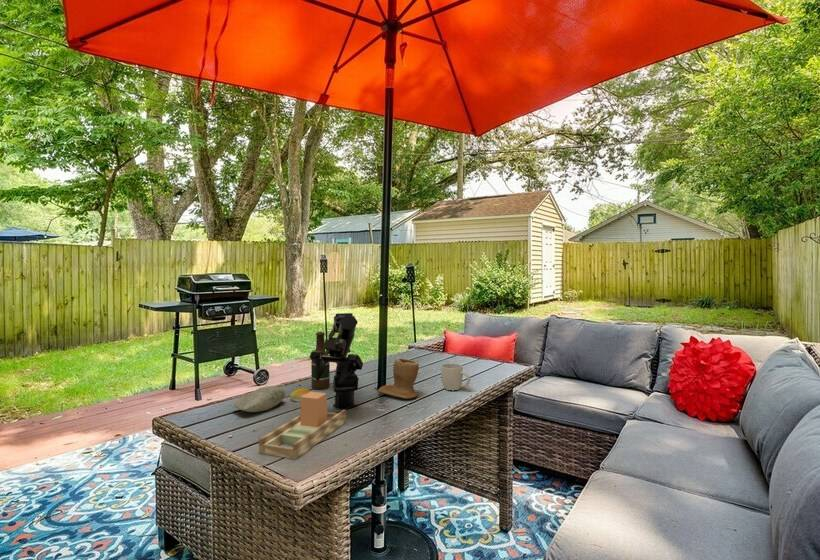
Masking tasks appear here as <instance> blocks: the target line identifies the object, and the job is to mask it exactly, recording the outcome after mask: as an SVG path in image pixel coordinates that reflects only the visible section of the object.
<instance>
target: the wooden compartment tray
mask: <svg viewBox="0 0 820 560" xmlns="http://www.w3.org/2000/svg"><path fill="white" fill-rule="evenodd" d="M346 422H347V409H341V410H340V411H339V412H330V411H329V412H328V411H327V421H326V422H324V423H323V424H322V425H320V426H319V427H310V426H303V425H301V414H299V415H297V416H296V417H294V418H292V419H291V420H289V421H287V422H286V423H284V424H282V425H281V426H279V427H277V428H275V429H274V430H272V431H270V432H268V433H267V434H266V435H265V434H264V436H262V437H260V438H259V439H258V453H259V454H263V455H268V456H272V457H273V456H275V457H280V458H281V457H282V458H286V459H293V460H297V459H298V458H300V457H301V456H302V455H303V454H304V453H306V452H307V451H309V450H311V449H312V448H313V447H314V446H316V445H317V444H318V443H320V442H321V441H322V440H324V439H325V438H326V437H327V436H329V435H330V434H331V433H333V432H334V431H335V430H336V429H338V428H340V427H341V426H342V425H344V424H345V423H346ZM281 444H285V445H292V446H291V447H289V446H284V445H283V446H282V445H281Z"/></svg>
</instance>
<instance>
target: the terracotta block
mask: <svg viewBox="0 0 820 560" xmlns="http://www.w3.org/2000/svg"><path fill="white" fill-rule="evenodd" d="M327 412H328V394H327V393H325V392H319V391H318V392H317V391H311V392H309V393H307V394H305V395H303V396H301V402H300V415H301V425H303V426H310V427H319V426H320V425H322V424H323V423H324V422H326V421H327Z"/></svg>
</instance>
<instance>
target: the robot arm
mask: <svg viewBox="0 0 820 560" xmlns="http://www.w3.org/2000/svg"><path fill="white" fill-rule="evenodd" d="M357 325H358V320H357V318H356V317H355V315H354V314H353V313H352V312H345V313H344V312H343V313H342V312H341V313H335V315H334V316H333V323H332V330H331V331H330V332H329V333H328V335H327V337H328V338H327V339H324V342H325V343H324V348H323V349H325V351H326V350H327V351H326V352H327V354H328V356H325V355H324V354H323V352H320V351H316V350H312V351H311V352H310V355H309V357H308V358H310V360H311V362H312V361H313V363H314V364H315V365H316V380H317V381H318V380H319V379H320V377H321V375H322V374H323V372H324V370H325V368H326V367H325V364H326V362H330V363H335V364H336V369H335V370H334V371H335V372H334V373H335V375H333V378H332V379H333V382H332V389H333V392H334V393H335V395H334V404H333V405H332V406H333V407H335V408H338V409H341V410H348V409H350V408H354V407H357V406H358V405H357V403H355V391H358V389H359V377H358V374H357V373H356V372H357V370H358V371H359V370H360V371H361V370H362V369H363V366H364V361H363V360H362V358H361V356H360V355H359V354H351V351H352V350H351V349H350V348H351V346H352V343H353V341H354V337H355V333H356V330H357V329H356V327H357ZM335 334H337V336H336V337H334V336H335Z"/></svg>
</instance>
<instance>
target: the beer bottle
mask: <svg viewBox="0 0 820 560" xmlns="http://www.w3.org/2000/svg"><path fill="white" fill-rule="evenodd" d="M325 335H326V334H325V331H320V332H319V331H318V332H316V334H315V337H316V341H315V342H316V344H315V351H320V352H323V354H324V355H325V356H329V354H328V353H327V351H326V349H323V348H324V343H325ZM330 364H331V362H326V364H325V367H326V368H325V370H324V372H323V374H322V375H321V377H320V379H319V380H318V381H317V380H316V365H315V364H314V363H313V361H312V360H311V365H310V366H311V367H310V368H311V372H310V373H311V389H312V390H314V391H325V390H328V389H329V387H330V384H331V383H330V382H331V381H330V380H331V379H330V378H331V376H330V375H331V374H330V372H331V370H330V369H331V367H330V366H331V365H330Z"/></svg>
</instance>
